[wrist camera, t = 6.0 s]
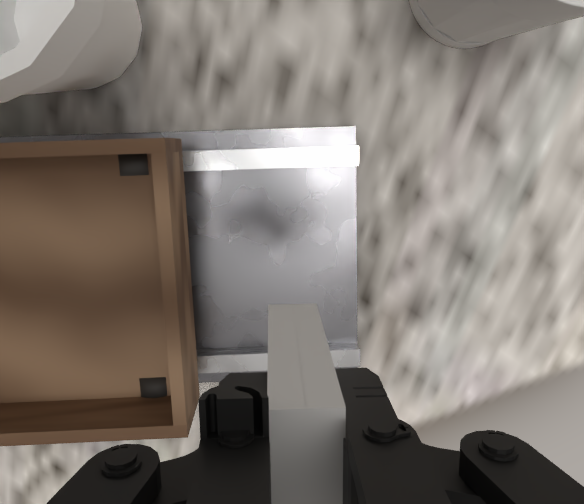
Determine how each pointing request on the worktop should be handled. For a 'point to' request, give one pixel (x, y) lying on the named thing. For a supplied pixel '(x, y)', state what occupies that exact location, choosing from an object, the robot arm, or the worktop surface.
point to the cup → (489, 18)
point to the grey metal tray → (265, 236)
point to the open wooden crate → (95, 292)
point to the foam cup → (65, 44)
